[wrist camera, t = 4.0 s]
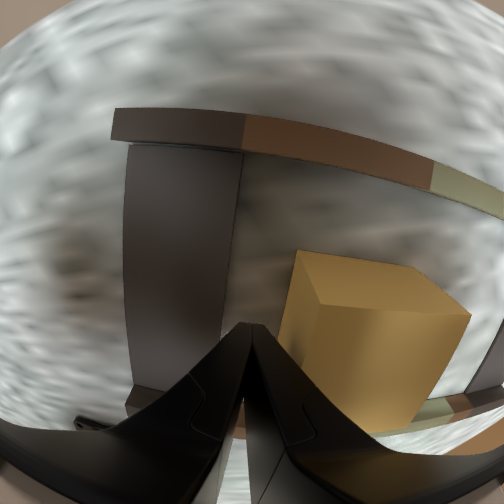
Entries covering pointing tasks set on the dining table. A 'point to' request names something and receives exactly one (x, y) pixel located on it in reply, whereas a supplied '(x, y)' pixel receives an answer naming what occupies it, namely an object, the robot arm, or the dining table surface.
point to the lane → (220, 235)
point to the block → (370, 335)
